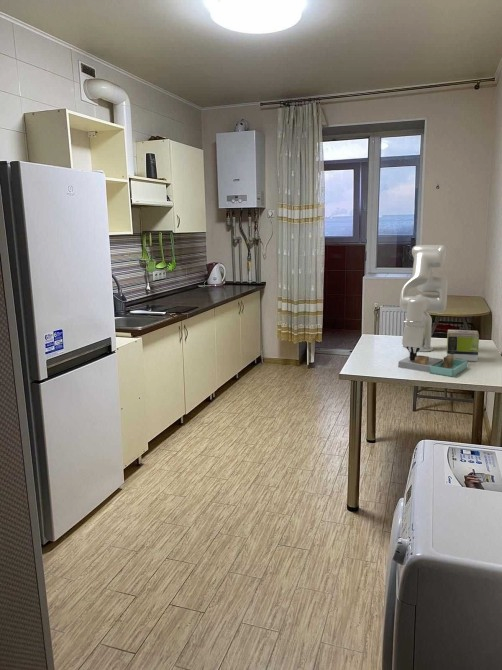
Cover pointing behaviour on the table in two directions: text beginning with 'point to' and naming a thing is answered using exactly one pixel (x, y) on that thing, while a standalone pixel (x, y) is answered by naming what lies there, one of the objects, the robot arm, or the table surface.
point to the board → (420, 367)
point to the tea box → (463, 344)
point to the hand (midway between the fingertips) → (412, 360)
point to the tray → (450, 372)
